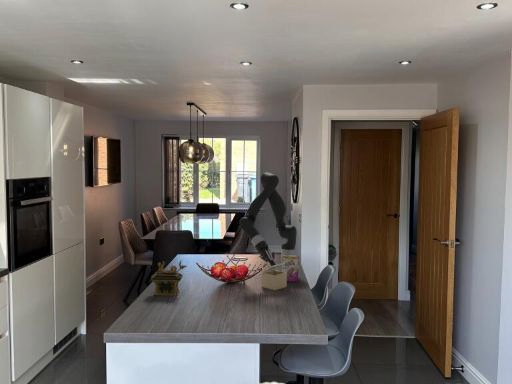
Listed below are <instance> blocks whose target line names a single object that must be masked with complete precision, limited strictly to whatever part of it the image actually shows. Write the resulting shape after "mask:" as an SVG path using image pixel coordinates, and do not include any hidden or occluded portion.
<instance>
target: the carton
mask: <svg viewBox="0 0 512 384" xmlns="http://www.w3.org/2000/svg"><path fill="white" fill-rule="evenodd" d="M287 283H288V281H287V272H282V271H281V270H276V269H274V270H270V271H266V272H261V288H262V289H265V290H270V291H278V290H281V289H284V288H287Z"/></svg>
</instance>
